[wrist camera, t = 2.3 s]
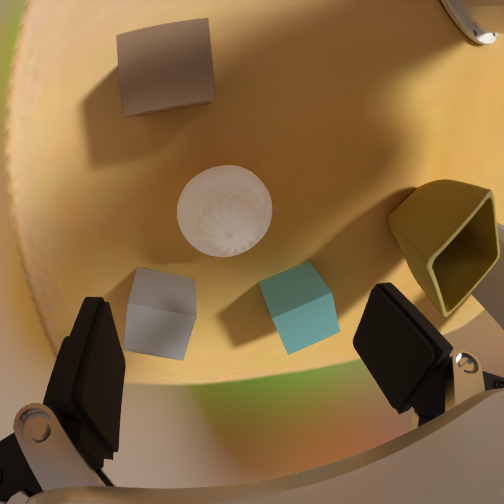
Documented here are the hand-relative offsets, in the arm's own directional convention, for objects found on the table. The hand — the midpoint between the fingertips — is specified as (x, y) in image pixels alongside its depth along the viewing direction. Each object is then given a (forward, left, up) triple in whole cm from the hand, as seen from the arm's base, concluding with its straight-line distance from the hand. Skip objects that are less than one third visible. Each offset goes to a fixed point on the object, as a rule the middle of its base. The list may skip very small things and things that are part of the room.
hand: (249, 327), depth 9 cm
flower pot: (+1, +19, -14) cm, 24 cm away
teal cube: (+9, +7, -14) cm, 18 cm away
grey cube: (+9, -5, -14) cm, 17 cm away
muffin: (0, 0, -14) cm, 14 cm away
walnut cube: (-9, -4, -14) cm, 17 cm away
